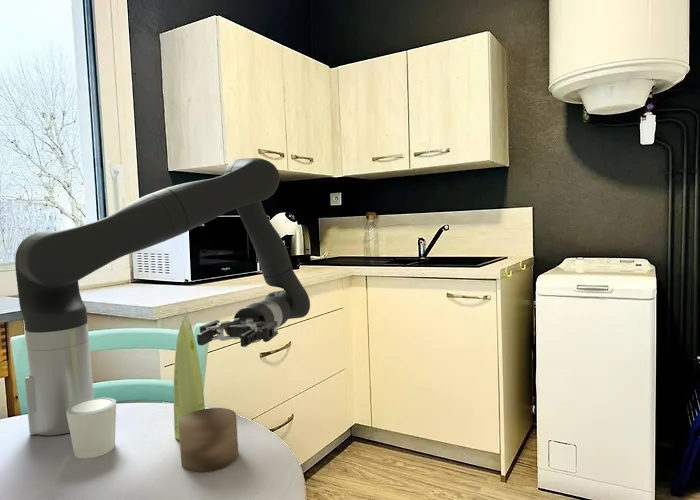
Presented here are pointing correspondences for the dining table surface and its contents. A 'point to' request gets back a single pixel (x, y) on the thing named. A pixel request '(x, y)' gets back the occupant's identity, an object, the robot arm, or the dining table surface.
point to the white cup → (92, 426)
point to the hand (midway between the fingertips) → (220, 340)
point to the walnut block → (208, 440)
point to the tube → (186, 375)
